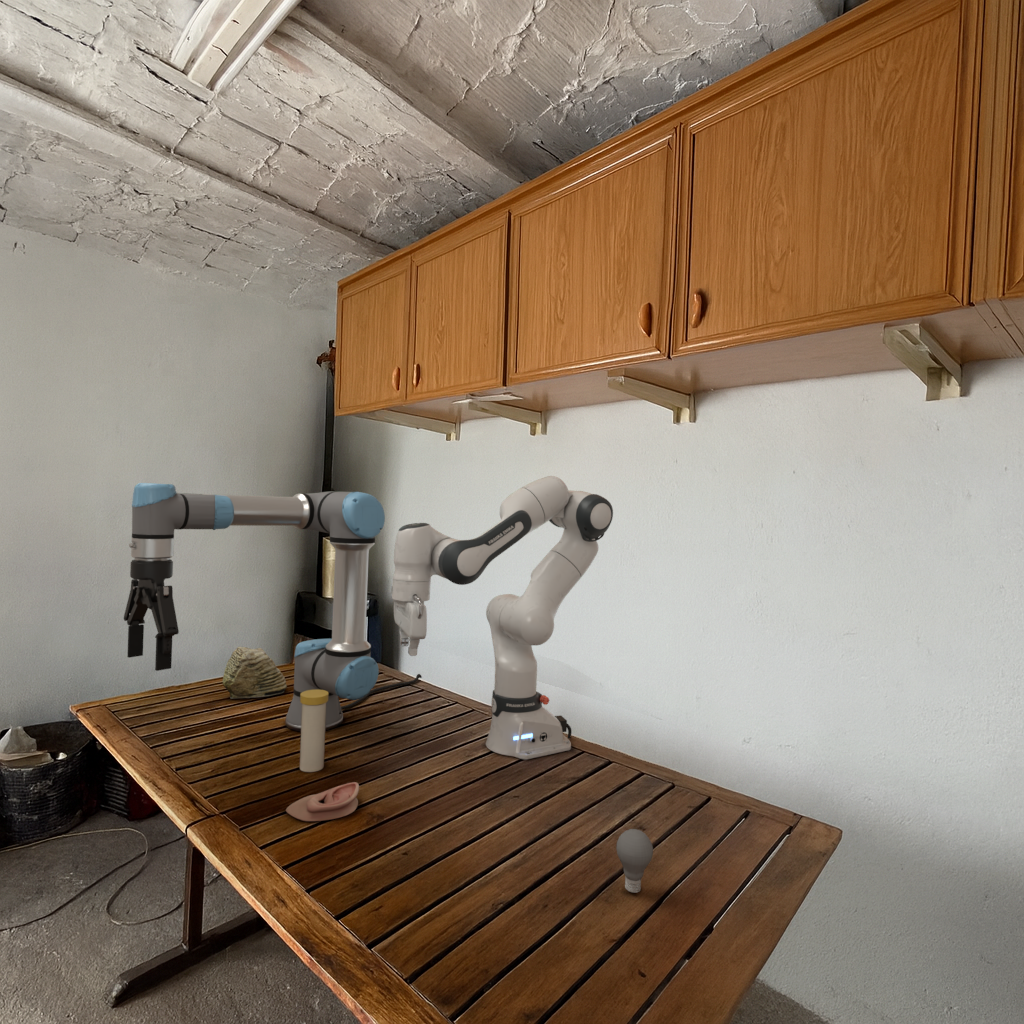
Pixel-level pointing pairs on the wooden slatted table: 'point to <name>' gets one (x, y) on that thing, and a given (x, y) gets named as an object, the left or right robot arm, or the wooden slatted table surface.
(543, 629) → the right robot arm
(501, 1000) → the wooden slatted table surface
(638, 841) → the light bulb
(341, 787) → the anatomical model
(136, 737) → the wooden slatted table surface
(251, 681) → the fossil
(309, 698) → the lid
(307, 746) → the jar
